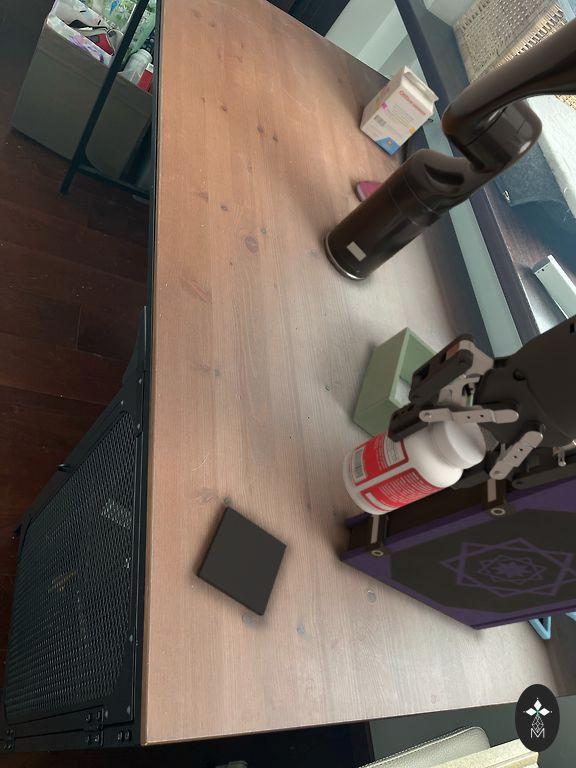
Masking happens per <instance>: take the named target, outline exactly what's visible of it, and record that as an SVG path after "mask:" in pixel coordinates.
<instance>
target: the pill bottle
mask: <svg viewBox="0 0 576 768" xmlns="http://www.w3.org/2000/svg"><path fill="white" fill-rule="evenodd" d="M388 430H389V429H388ZM388 430H387V431H385V432H383V433H381V434H379V435H378V436H376V437H372V438H371V439H369V440H367V441H365V442H363V443H361V444H360V445H358V446H356V447H355V448H353V449H351V450H350V451H349V452H348V453H347V454H346V456H345V458H344V460H343V463H342V479H343V483H344V486H345V489H346V491H347V493H348V495H349V496H350V498H351V499H352V501H353V502H354V503H355V504H356V505H357V506H358V508H360V509H361V510H363V512H365V511H366V512H368V513H371V514H378V515H379V514H384V513H387V512H390V511H392V510H395V509H397V508H399V507H401V506H404V505H406V504H408V503H411V502H413V501H416V500H418V499H420V498H423V497H425V496H428V495H430V494H432V493H435V492H437V491H439V490H441V489H444V488H446V487H448V486H450V485H452V484H454V483H455V482H457V481H458V480H459V478H460V477H461V475H462V473H463V470H464V469H466V468H470V467H471V466H473V465H475V464H478V463H479V462H481V461H482V460H483V458H484V456H485V450H487V449H486V441H485V438H484V434H483V433H482V431H481V429H480V426H479V425H478V424H477V423H469V424H455V423H454V422H453V421H452V420H447V421H436V422H429V423H428V426H427V427H425V428H423V429H421V430H419V431H417V432H415V433H413V434H412V435H410V436H408V437H406V438H404V439H402V440H400V441H398V442H396V443H395V442H393V441H392V440H391V439H389V438H388V437H387V434H388Z"/></svg>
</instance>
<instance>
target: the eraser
mask: <svg viewBox="0 0 576 768" xmlns="http://www.w3.org/2000/svg"><path fill="white" fill-rule="evenodd" d="M382 183H383V182H376V181H369V180H362V181H359V182H358V183H357V184H356V187H355V190H354V191H355V194H356V197H357V198H358V199H359V200H360V201H361V203H362V202H363V201H364V200H365V199H366V198H367V197H368V196H369V195H370V194H371V193H372V192H373V191H375V190H376V189H377V188H378V187H379V186H380V185H381V184H382Z"/></svg>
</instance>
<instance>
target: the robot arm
mask: <svg viewBox="0 0 576 768" xmlns="http://www.w3.org/2000/svg"><path fill="white" fill-rule="evenodd" d="M542 96H576V16H575V17H574V18H572V19H571V20H569V21H568V22H567V23H565V24H564V25H563V26H561V27H560V28H558V29H557V30H556V31H554V32H552V34H550V35H548V36H546V37H545V38H543V40H541V41H539V42H538V43H536V44H535V45H533V46H531V47H530V48H528V49H526V50H524V51H522V52H521V53H519V54H517V55H516V56H514V57H513V58H510V59H509V60H507V61H505V62H504V63H502V64H500V65H498V66H497V67H495V68H493V69H491V70H490V71H488V72H486V73H485V74H483V75H482V76H480V77H479V78H477V79H476V80H474V81H472V82H471V83H470V84H469V85H467V86H466V87H465V88H464V89H463V90H461V91H460V92H459V93H458V94H457V95H456V96H455V97H454V98H453V99H452V100H451V101H450V102H449V104H448V105H447V106H446V108H445V110H444V112H443V114H442V116H441V119H440V128H441V131H442V133H443V135H444V137H445V138H446V140H447V141H448V142H449V143H450V144H451V146H453V147H454V148H455V149H456V150H457V151H458V152H459V153H460V154H461V155H462V156H452V155H447V154H444V153H442V152H440V151H437V150H434V149H431V148H421V149H418V150H417V151H415V152H414V153H413V154H412V155H411V156H409V155H410V148H411V147H410V146H411V142H412V138H413V135H414V133H413V134H412V135H411V136H410V137H409V138H408V139H407V140H406V145H405V152H404V153H405V154H404V162H403V163H402V164H401V165H399V167H398V168H397V169H396V170H394V171H393V173H391V174H390V176H388V177H387V178H386V179H385V180H384V181H383V182H381V183H382V184H381V185H380V186H379V187H378V188H377V189H376V190H375V191H373V192H372V193H371V194H370V195H369V196H368V197H367V198H366V199H365V200H364V201H363V202H362V201H361V203H360V204H358V205H357V206H356V207H355V208H354V209H353V210H351V212H350V213H349V214H348V215H346V217H344V218H342V220H341V221H340V222H339V223H338V224H337V225H336V226H335V227H333V228H332V229H330V230H329V231H328V232H327V233H326V234H325V237H324V240H323V245H324V250H325V253H326V255H327V257H328V259H329V261H330V263H331V264H332V265H333V266H334V268H335V269H336V270H337V271H338V272H339V273H341V274H342V275H343V276H344V277H345V278H347V279H350V280H351V281H355V282H362V281H364V280H366V279H368V278H369V277H370V276H371V275H372V274H373V273H374V272H375V271H377V270H378V269H379V268H380V267H381V266H383V265H384V264H385V263H386V262H388V261H389V260H390V259H392V258H393V257H394V256H395V255H396V254H398V253H399V252H400V251H401V250H403V249H405V247H407V246H408V245H409V244H411V242H413V241H414V240H415V239H417V237H419V236H420V235H421V234H422V233H424V232H425V231H426V230H428V229H429V228H430V227H432V226H433V224H435V223H436V222H437V221H439V220H440V219H441V218H442V217H444V216H445V215H446V214H447V213H449V212H450V211H451V210H452V209H454V208H455V207H457V206H459V205H462V203H464V202H466V201H468V200H469V199H470V198H471V197H473V196H474V195H476V194H477V193H478V192H479V191H481V190H482V189H483V188H486V186H487V185H489V184H491V183H492V182H494V180H496V179H497V178H499V177H500V176H502V175H503V174H505V173H506V172H507V171H509V170H510V169H512V167H514V166H515V165H517V164H518V163H519V162H520V161H521V160H522V159H524V158H525V157H526V156H527V154H528V153H529V152H530V151H531V150H532V149H533V148H534V147H535V145H536V144H537V142H538V140H539V139H540V136H541V134H542V132H543V122H542V119H541V118H540V117H539V115H538V114H537V113H536V112H535V110H533V109H532V108H531V107H530V105H529V104H527V102H526V101H525V100H527V99H531V98H535V97H542ZM428 119H429V118H428ZM428 119H427V120H426V121H425V122H427V121H429V120H428ZM473 374H478V375H480V376H477V377H476V376H475V377H469V378H467V377H468V376H470V375H473ZM458 377H459V379H460V380H456V381H455V382H453V384H451V385H448V384H450V383H451V382H452V381H454V380H455V379H456V378H458ZM447 385H448V386H447ZM471 395H473V401H472V406H466V400H467V398H468V397H469V396H471ZM407 399H408V402H409V403H407V404H405V405H403V407H402V408H400V409H398V410H396V411H395V412H393V414H392V415H391V418H390V423H389V427H388V429H389V430H388V434H387V437H388V438H389V439H391V440H392V441H393V442H395V443H396V442H398V441H400V440H402V439H404V438H406V437H408V436H410V435H412V434H413V433H415V432H417V431H419V430H421V429H423V428H425V427H427V426H428V423H429V422H436V421H447V420H452V421H453V422H454V423H455V424H469V423H476V424H477V425H478V427H481V428H483V429H484V430H486V431H488V432H490V433H491V435H492V436H493V438H494V440H496V441H495V443H494V445H492V447H491V449H490V450H491V453H489V452H488V451H489V450H487V449H485V456H484V458H483V460H482V461H481V462H479V463H478V464H475V465H473V466H471V467H470V468H466V469H464V470H463V473H462V475H461V477H460V478H459V480H458V481H457V482H455V483H454V484H452V485H450V487H452V488H453V489H455V490H456V489H459V488H461V487H462V488H469V487H472V486H474V485H477V484H479V483H482V482H484V481H486V480H489V479H491V478H494V479H498V480H499V479H503V478H505V479H508V480H510V481H512V486H513V487H514V488H516V489H526V488H530V487H533V486H537V485H540V484H544V483H548V482H551V481H555V480H559V479H562V478H566V477H569V476H573V475H576V313H575V314H573V315H572V316H569V317H568V318H566V319H565V320H563V321H561V322H559V323H557V324H556V325H554V326H552V327H550V328H549V329H547V330H545V331H544V332H542V333H540V334H538V335H536V336H534V337H533V338H531V339H529V340H528V341H527V342H526V343H525V344H523V345H522V346H521V347H520V348H518V350H517V351H515V352H514V353H512V354H510V355H504V356H496V357H493V358H492V357H490V356H489V355H487V354H485V353H484V352H483V351H482V350H480V349H479V348H477V347H476V338H475V336H473V334H471V333H460V334H459V335H458V336H457V337H456V338H454V339H453V340H452V341H450V342H449V343H448V344H447V345H445V346H444V347H443V348H442V349H440V351H438V352H437V354H436V355H434V356H433V357H432V358H431V359H429V360H428V361H427V362H426V363H424V364H423V365H422V366H421V367H419V368H418V369H417V370H416V371H414V373H413V375H412V383H411V385H410V388H409V391H408V395H407ZM450 401H451V402H450ZM441 402H450V403H448V404H442V405H438V403H441ZM537 446H540V447H543V448H540V449H537V450H533V451H531V450H532V449H533V448H536V447H537ZM537 465H539V467H538V468H537V469H535V470H532V471H529V468H530V467H534V466H537Z"/></svg>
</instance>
